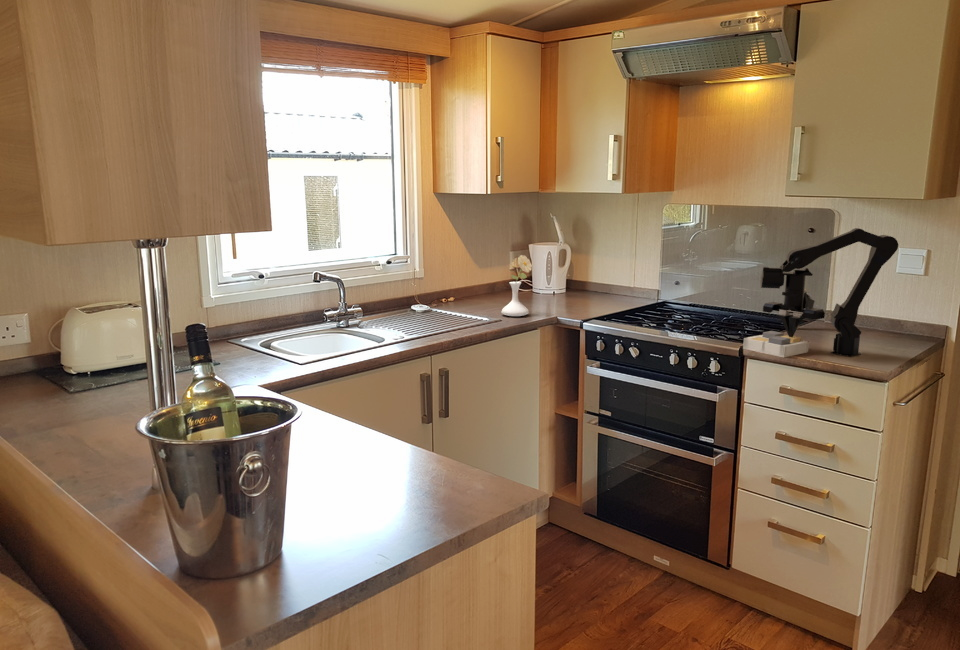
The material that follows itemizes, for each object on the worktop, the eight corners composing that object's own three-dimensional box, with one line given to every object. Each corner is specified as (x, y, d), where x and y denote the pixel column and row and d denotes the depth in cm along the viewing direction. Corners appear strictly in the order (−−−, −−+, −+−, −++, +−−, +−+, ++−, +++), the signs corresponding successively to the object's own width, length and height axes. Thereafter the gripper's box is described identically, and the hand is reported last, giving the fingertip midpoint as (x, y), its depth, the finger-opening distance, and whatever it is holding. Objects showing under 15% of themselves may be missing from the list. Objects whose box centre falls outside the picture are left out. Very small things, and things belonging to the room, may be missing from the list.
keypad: (808, 352, 237) (808, 341, 236) (783, 357, 230) (784, 346, 229) (767, 343, 249) (768, 333, 248) (743, 348, 242) (743, 338, 241)
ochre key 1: (771, 348, 240) (772, 339, 239) (762, 350, 237) (763, 341, 236) (759, 346, 243) (760, 337, 243) (750, 347, 241) (751, 338, 240)
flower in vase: (510, 319, 295) (510, 257, 290) (496, 314, 305) (496, 254, 300) (537, 316, 301) (538, 255, 296) (522, 312, 311) (523, 253, 306)
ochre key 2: (800, 346, 237) (801, 337, 237) (792, 348, 235) (792, 338, 234) (787, 343, 241) (788, 334, 241) (779, 345, 239) (780, 336, 238)
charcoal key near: (789, 347, 234) (790, 338, 233) (780, 349, 232) (781, 340, 231) (776, 345, 238) (777, 336, 237) (768, 346, 235) (768, 337, 235)
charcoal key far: (783, 341, 243) (783, 333, 242) (774, 343, 240) (775, 334, 239) (770, 339, 246) (771, 330, 246) (762, 341, 244) (762, 332, 243)
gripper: (836, 290, 231) (832, 338, 234) (783, 283, 246) (780, 329, 249) (816, 293, 225) (812, 343, 228) (763, 286, 240) (759, 333, 243)
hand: (790, 336), depth 237 cm, fingers closed, pressing on ochre key 2
